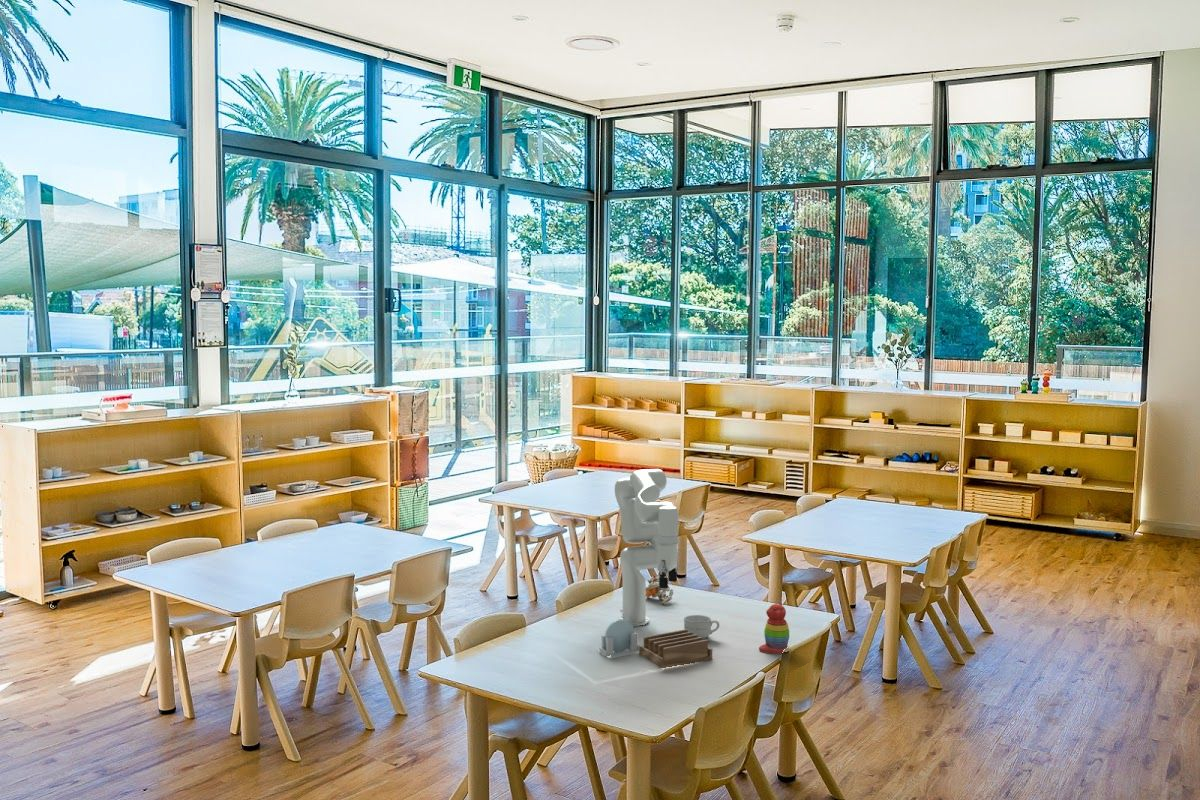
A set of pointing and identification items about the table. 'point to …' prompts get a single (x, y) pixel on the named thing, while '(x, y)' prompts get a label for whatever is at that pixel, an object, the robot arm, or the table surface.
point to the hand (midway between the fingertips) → (668, 584)
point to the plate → (619, 634)
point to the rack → (675, 648)
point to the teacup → (700, 625)
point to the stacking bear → (775, 630)
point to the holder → (608, 650)
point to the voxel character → (657, 590)
